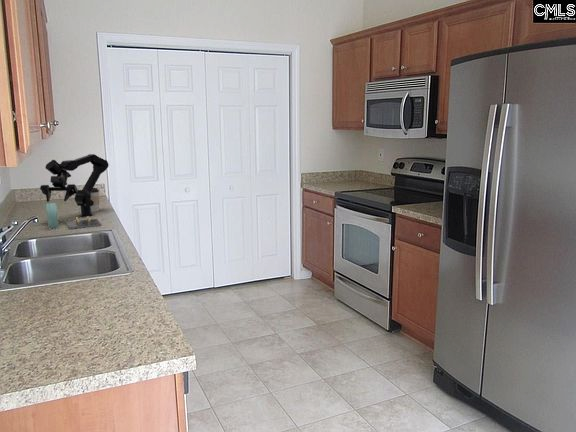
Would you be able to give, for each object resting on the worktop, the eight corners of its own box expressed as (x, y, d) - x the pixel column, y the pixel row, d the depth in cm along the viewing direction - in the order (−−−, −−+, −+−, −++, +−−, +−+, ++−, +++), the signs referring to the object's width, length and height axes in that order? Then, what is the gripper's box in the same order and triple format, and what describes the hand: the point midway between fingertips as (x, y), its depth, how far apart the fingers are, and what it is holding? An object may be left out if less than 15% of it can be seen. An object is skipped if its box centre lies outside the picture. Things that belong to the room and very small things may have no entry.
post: (48, 227, 257) (45, 204, 255) (58, 226, 260) (55, 203, 257) (48, 229, 253) (46, 205, 251) (59, 227, 256) (56, 204, 253)
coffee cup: (86, 210, 306) (83, 187, 303) (101, 209, 309) (98, 186, 306) (85, 212, 298) (83, 189, 295) (100, 211, 301) (98, 188, 298)
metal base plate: (66, 224, 265) (65, 216, 264) (96, 220, 272) (96, 213, 272) (69, 229, 251) (68, 221, 250) (101, 225, 259) (100, 218, 258)
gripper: (39, 170, 262) (32, 193, 253) (73, 170, 264) (68, 192, 255) (46, 182, 271) (40, 205, 263) (80, 182, 273) (75, 204, 264)
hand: (56, 201), depth 261 cm, fingers open, 9 cm apart
